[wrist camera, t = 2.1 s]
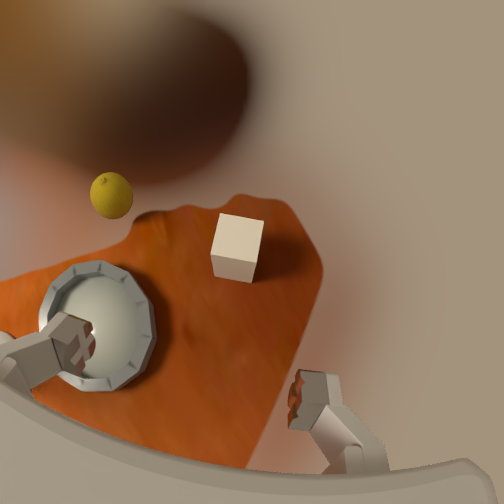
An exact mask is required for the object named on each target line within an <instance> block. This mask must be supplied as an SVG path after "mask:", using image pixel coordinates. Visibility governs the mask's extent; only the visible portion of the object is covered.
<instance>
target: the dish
mask: <svg viewBox="0 0 504 504" xmlns="http://www.w3.org/2000/svg"><path fill="white" fill-rule="evenodd" d="M60 311H63V312H66V313H68V314H71V315H74V316H76V317H79V318H82V319H84V320H87V321H90V322H91V323H92V326H93V330H92V332H91V333H92V334H93V336H94V337H95V341H96V348H95V351H94V354H93V356H92V357H91V359H89V360H87V361H85V365H86V366H85V368H84V369H83V371H82V372H81V374H80V376H79V377H77V376H75V375H72V374H70V373H67V372H65V371H62V372H60V373H58V374H57V375H58V376H59V377H61V378H62V379H64V380H65V381H66V382H68V383H70V384H71V385H73V386H74V387H76V388H77V389H79V390H80V391H114V390H119V389H121V388H123V387H124V386H125V385H127V384H128V383H129V382H131V381H132V380H133V379H135V378H136V377H137V376H139V375H140V374H141V373H143V372H144V371H145V370H146V367H147V365H148V362H149V359H150V357H151V354H152V352H153V349H154V347H155V344H156V342H157V339H158V338H157V331H156V322H155V314H154V305H153V303H152V302H151V300H150V299H149V297H148V296H147V295H146V293H145V292H144V290H143V289H142V287H141V286H140V284H139V283H138V281H137V280H136V278H135V277H133V276H132V275H131V274H130V273H129V272H127V271H125V270H123V269H121V268H118V267H116V266H114V265H112V264H110V263H107V262H105V261H103V260H96V261H90V262H84V263H78V264H73V265H72V266H71V267H69V268H68V269H67V270H66V271H65V272H63V273H62V274H61V275H60V276H59V277H58V278H56V279H55V280H54V281H53V282H52V283H51V284H50V286H49V289H48V291H47V293H46V296H45V298H44V301H43V303H42V306H41V308H40V311H39V332H40V331H41V330H42V329H43V328H44V327H45V326H46V325H47V324H48V322H49V321H50V320H51V319H52V318H53V317H54V316H55V315H56V314H57V313H58V312H60Z"/></svg>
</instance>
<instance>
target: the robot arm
mask: <svg viewBox="0 0 504 504" xmlns="http://www.w3.org/2000/svg"><path fill="white" fill-rule="evenodd" d="M92 330H93V326H92V323H91V322H90V321H87V320H84V319H82V318H79V317H76V316H74V315H71V314H68V313H66V312H63V311H60V312H58V313H57V314H56V315H55V316H54V317H53V318H52V319H51V320H50V321H49V322H48V324H47V325H46V326H45V327H44V328H43V329H42V330H41V331H40V332H39V333H38V332H34V333H31V334H29V335H26V336H23V337H20V338H17V339H14V340H12V341H9V342H6V343H3V344H0V504H498V502H497V498H496V494H495V489H494V486H493V483H492V481H491V478H490V477H489V475H488V474H487V473H485V471H483V470H482V469H481V468H480V467H479V466H477V465H476V464H475V463H474V462H472V461H471V460H469V459H467V458H460V459H456V460H451V461H447V462H442V463H437V464H432V465H427V466H421V467H416V468H409V469H402V470H394V471H390V469H389V464H388V459H387V454H386V450H385V445H384V444H383V442H382V441H381V440H380V439H379V438H377V436H376V435H375V434H374V433H373V432H372V431H371V430H370V429H369V428H368V427H367V426H366V425H365V424H364V423H363V422H362V421H361V420H360V419H359V418H358V417H357V415H356V414H355V413H354V412H353V411H352V410H351V409H350V408H349V407H348V406H344V403H343V397H342V392H341V386H340V381H339V376H338V374H337V373H331V372H321V371H311V370H302V369H298V371H297V373H296V375H295V382H293V383H292V385H291V387H290V390H289V395H288V407H289V408H290V411H289V414H288V429H293V430H302V431H310V434H311V436H312V437H313V439H314V440H315V442H316V443H317V445H318V446H319V448H320V449H321V451H322V452H323V454H324V455H325V457H326V458H327V460H328V461H329V463H330V466H328V467H327V469H325V471H324V472H323V473H322V474H293V473H278V472H266V471H258V470H249V469H242V468H235V467H229V466H223V465H217V464H212V463H207V462H202V461H197V460H193V459H188V458H184V457H180V456H176V455H172V454H168V453H165V452H161V451H158V450H154V449H151V448H147V447H144V446H141V445H138V444H135V443H132V442H129V441H126V440H123V439H120V438H118V437H115V436H112V435H109V434H107V433H104V432H102V431H99V430H97V429H94V428H92V427H90V426H87V425H85V424H83V423H80V422H78V421H76V420H74V419H71V418H69V417H67V416H65V415H63V414H61V413H59V412H57V411H55V410H53V409H51V408H49V407H47V406H45V405H43V404H41V403H40V402H38V401H36V400H35V399H34V397H33V395H32V393H31V391H30V390H31V389H32V388H34V387H36V386H38V385H39V384H41V383H43V382H44V381H46V380H48V379H50V378H51V377H53V376H55V375H57V374H58V373H60V372H62V371H65V372H67V373H70V374H72V375H75V376H77V377H79V376H80V374H81V372H82V371H83V369H84V368H85V366H86V365H85V361H87V360H89V359H91V357H92V356H93V354H94V351H95V348H96V341H95V337H94V336H93V334H92V333H91V332H92Z"/></svg>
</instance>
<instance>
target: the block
mask: <svg viewBox="0 0 504 504" xmlns="http://www.w3.org/2000/svg"><path fill="white" fill-rule="evenodd" d="M263 223H264V221H260V220H255V219H249V218H244V217H238V216H233V215H227V214H221V213H220V217H219V221H218V225H217V229H216V233H215V237H214V241H213V246H212V250H211V260H212V265H213V270H214V275H215V276H216V277H221V278H226V279H232V280H237V281H242V282H248V283H252V279H253V275H254V271H255V267H256V263H257V257H258V252H259V246H260V240H261V235H262V229H263Z"/></svg>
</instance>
